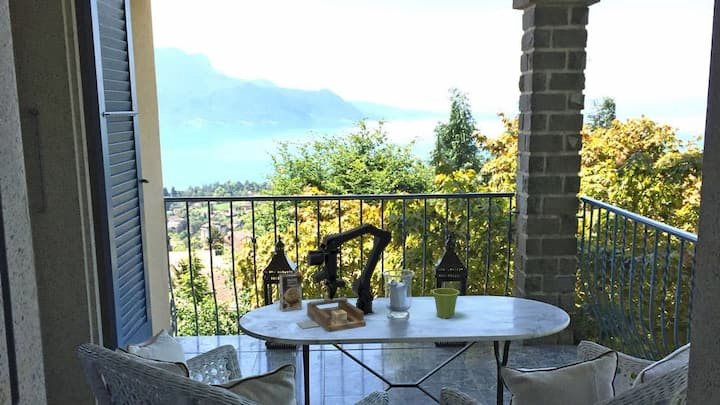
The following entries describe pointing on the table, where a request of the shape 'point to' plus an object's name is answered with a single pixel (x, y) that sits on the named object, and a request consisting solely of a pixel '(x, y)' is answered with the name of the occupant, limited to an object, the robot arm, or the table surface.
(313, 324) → the slate mat
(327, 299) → the latch bar
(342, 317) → the beech block
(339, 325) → the puzzle board
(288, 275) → the coffee box
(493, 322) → the table surface
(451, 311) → the plant pot
